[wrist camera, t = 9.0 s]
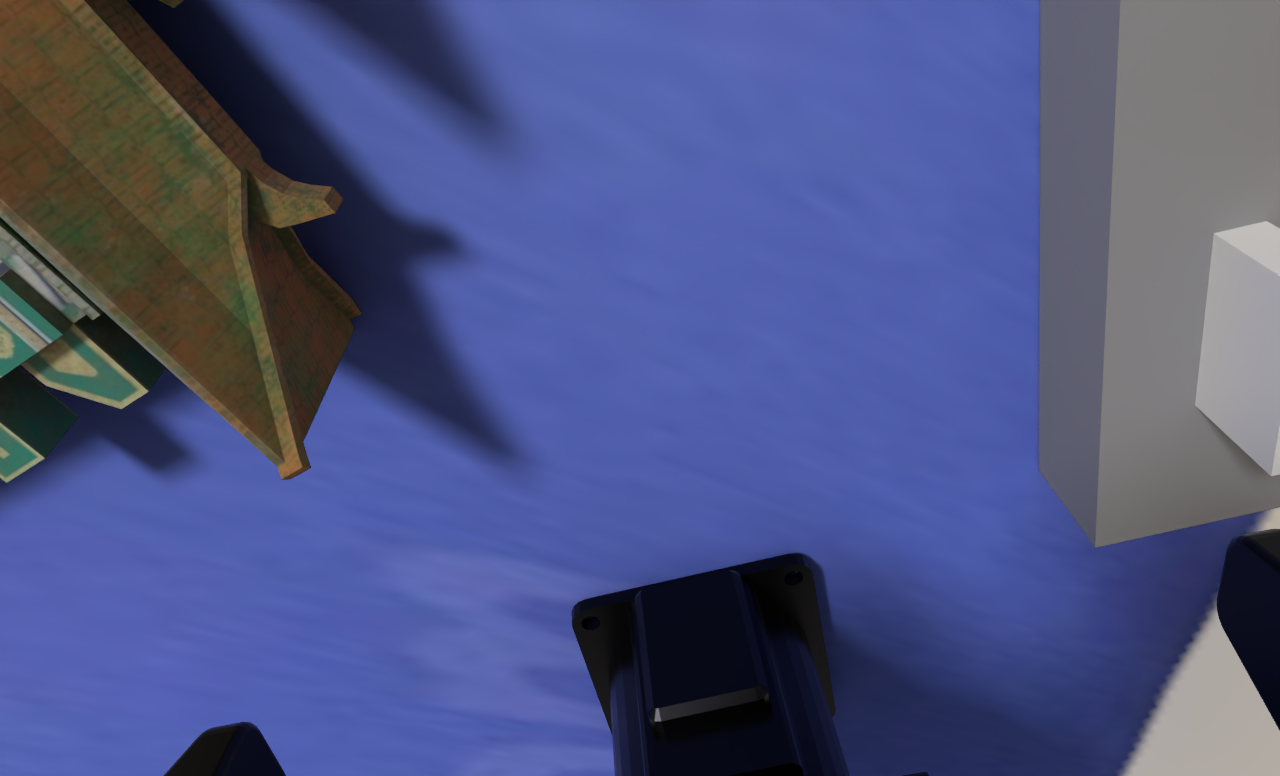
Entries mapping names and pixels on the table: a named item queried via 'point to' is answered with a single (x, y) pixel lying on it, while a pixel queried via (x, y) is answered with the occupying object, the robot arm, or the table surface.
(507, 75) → the table surface
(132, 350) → the miniature gate
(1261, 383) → the hinge plinth
